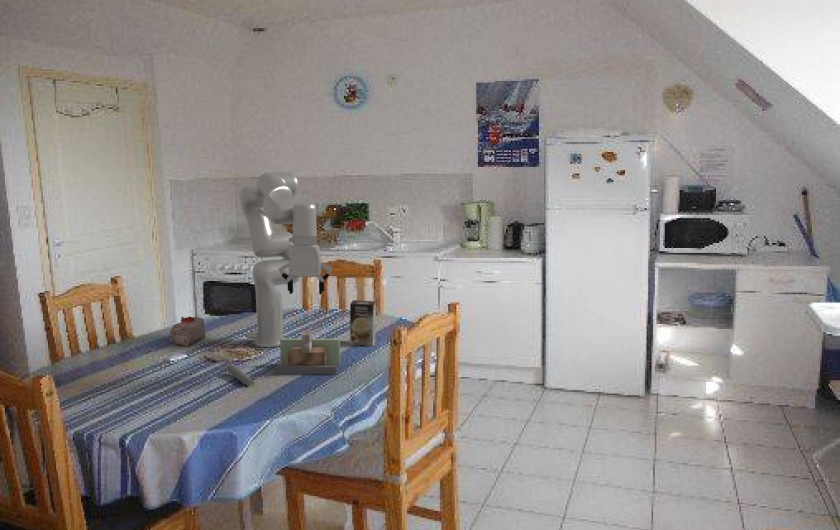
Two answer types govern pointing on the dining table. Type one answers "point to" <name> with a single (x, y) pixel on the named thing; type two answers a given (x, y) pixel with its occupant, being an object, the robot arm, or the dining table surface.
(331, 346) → the cleat board
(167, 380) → the dining table surface
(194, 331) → the food item
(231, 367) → the kitchen whisk
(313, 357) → the walnut mallet
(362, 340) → the coffee box
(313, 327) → the dining table surface
